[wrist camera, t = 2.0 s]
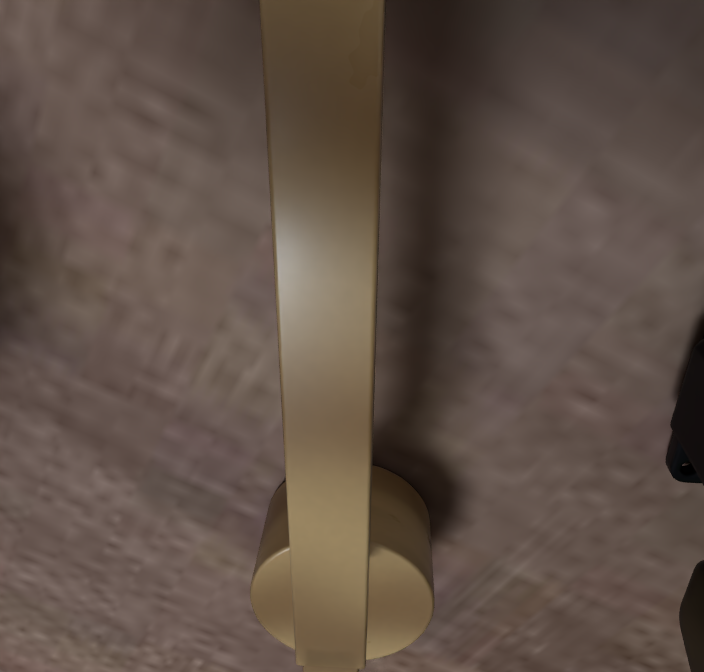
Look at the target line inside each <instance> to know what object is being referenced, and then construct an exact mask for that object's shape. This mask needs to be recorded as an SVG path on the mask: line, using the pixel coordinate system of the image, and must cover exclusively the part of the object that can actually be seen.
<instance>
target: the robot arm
mask: <svg viewBox="0 0 704 672" xmlns="http://www.w3.org/2000/svg"><path fill="white" fill-rule="evenodd" d="M670 425H671V428H672V430H673V432H674V433H673V437H672V440H671V443H670V446H669V450H668V453H667V456H666V465H667V467H668V469H669V471H670V473H671V474H672V476H673V478H675V479H676V480H678V481H681V482H687V483H703V485H704V337H703V339H702V340H700V342H699V343H698V344H697V345H696V346H695V347H694V348H693V351H692V354H691V358H690V361H689V364H688V367H687V371H686V374H685V377H684V381H683V384H682V387H681V390H680V394H679V397H678V400H677V403H676V407H675V410H674V413H673V417H672V420H671V424H670ZM689 461H690V462H691V463H690V464H688V465H685V466H682V465H683V464H684V463H686V462H689ZM679 620H680V628H681V632H682V636H683V640H684V645H685V649H686V653H687V657H688V661H689V665H690V669H691V672H704V560H702V561H700V562H699V563H698V564H697V565H696V567H695V568H694V571H693V573H692V576H691V579H690V581H689V584H688V587H687V589H686V592H685V595H684V597H683V600H682V603H681V606H680V612H679Z"/></svg>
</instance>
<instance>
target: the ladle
mask: <svg viewBox="0 0 704 672" xmlns="http://www.w3.org/2000/svg"><path fill="white" fill-rule="evenodd" d="M259 4H260V22H261V40H262V58H263V76H264V94H265V113H266V131H267V149H268V167H269V185H270V203H271V221H272V239H273V257H274V275H275V294H276V312H277V330H278V348H279V366H280V384H281V402H282V420H283V438H284V457H285V475H286V481H285V482H284V483H283V484H282V485H281V486H280V487H279V488H278V490H277V491H276V492H275V494H274V496H273V497H272V499H271V502H270V505H269V508H268V512H267V517H266V521H265V525H264V530H263V534H262V538H261V543H260V547H259V551H258V556H257V560H256V564H255V569H254V573H253V577H252V582H251V587H250V598H251V604H252V607H253V610H254V613H255V615H256V617H257V618H258V620H259V622H260V623H261V624H262V626H263V627H264V628H265V629H266V630H267V631H268V632H269V633H270V634H271V635H272V636H273V637H275V638H276V639H277V640H279V641H280V642H282V643H283V644H285V645H287V646H288V647H290V648H292V649H295V656H296V664H297V665H299V666H303V672H359V669H364V668H365V666H366V660H371V659H376V658H380V657H384V656H387V655H390V654H393V653H396V652H398V651H400V650H402V649H404V648H405V647H407V646H409V645H410V644H412V643H413V642H414V641H415V640H416V639H418V638H419V637H420V636H421V634H422V633H423V632H424V631H425V629H426V628H427V626H428V625H429V623H430V620H431V618H432V615H433V611H434V583H433V565H432V547H431V529H430V518H429V513H428V510H427V507H426V505H425V503H424V501H423V500H422V498H421V497H420V495H419V494H418V493H417V491H416V490H415V489H414V488H413V487H412V486H411V485H410V484H409V483H408V482H406V481H405V480H403V479H402V478H401V477H399V476H397V475H396V474H394V473H392V472H390V471H388V470H386V469H383V468H381V467H377V466H374V465H372V461H373V427H374V393H375V359H376V325H377V291H378V257H379V223H380V188H381V154H382V120H383V86H384V52H385V18H386V0H259Z"/></svg>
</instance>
